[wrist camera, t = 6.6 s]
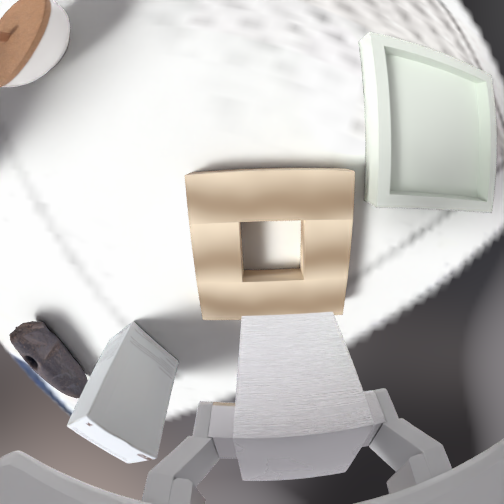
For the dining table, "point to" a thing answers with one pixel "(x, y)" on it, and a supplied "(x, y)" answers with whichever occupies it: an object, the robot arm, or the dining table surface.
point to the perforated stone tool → (49, 358)
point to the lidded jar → (31, 40)
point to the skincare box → (127, 397)
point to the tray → (426, 128)
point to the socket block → (270, 209)
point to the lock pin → (296, 399)
